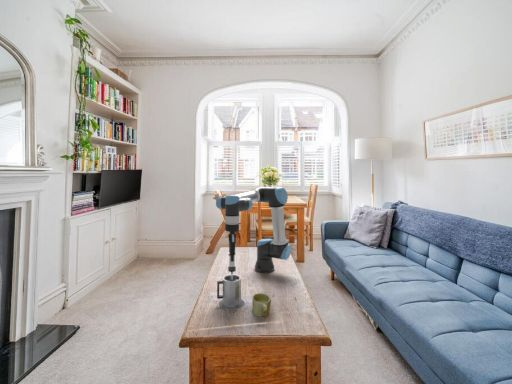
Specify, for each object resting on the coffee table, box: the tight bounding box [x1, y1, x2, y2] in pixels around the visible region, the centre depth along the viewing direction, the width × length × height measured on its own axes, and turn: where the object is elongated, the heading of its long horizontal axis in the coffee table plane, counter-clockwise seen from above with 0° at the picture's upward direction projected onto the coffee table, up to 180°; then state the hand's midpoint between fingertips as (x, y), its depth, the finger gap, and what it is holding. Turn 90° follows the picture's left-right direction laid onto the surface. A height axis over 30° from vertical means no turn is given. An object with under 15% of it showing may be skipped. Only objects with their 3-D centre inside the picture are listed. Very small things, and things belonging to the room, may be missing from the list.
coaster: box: [218, 298, 245, 311], centre depth 137 cm, size 14×14×1 cm
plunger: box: [227, 266, 236, 281], centre depth 137 cm, size 7×7×13 cm
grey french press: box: [216, 274, 242, 308], centre depth 137 cm, size 13×10×14 cm
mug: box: [251, 292, 272, 317], centre depth 127 cm, size 12×10×10 cm
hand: (231, 266), depth 136 cm, fingers closed
